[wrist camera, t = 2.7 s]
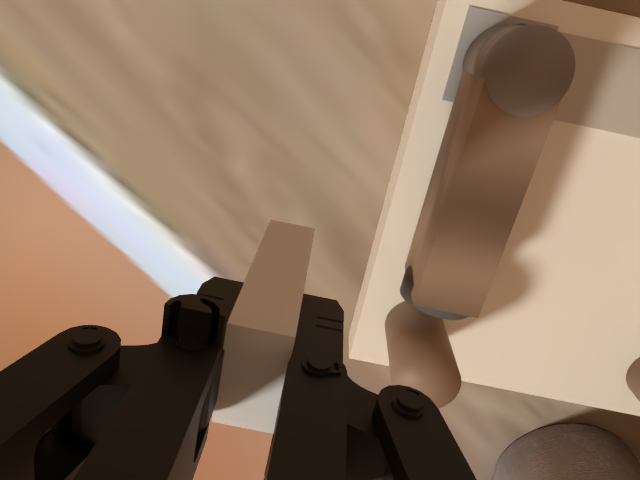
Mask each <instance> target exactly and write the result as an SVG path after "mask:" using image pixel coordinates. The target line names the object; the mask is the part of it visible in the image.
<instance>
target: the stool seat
mask: <svg viewBox="0 0 640 480" xmlns="http://www.w3.org/2000/svg"><path fill="white" fill-rule="evenodd" d="M501 25H521V26H547V27H550V28H553V29H555V30H557V31H558V32H560V33H561V34H562V35H563V36H564V37H566V39H567V40H568V41H569V43H570V45H571V47H572V49H573V52H574V56H575V73H574V77H573V80H572V83H571V85H570V87H569V89H568V91H567V92H566V94H565V95H564V96H563V98H562V99H561V102H560V104H559V107H558V109H557V112H556V115H555V117H554V120H553V123H552V125H551V128H550V130H549V133H548V136H547V138H546V141H545V144H544V146H543V149H542V152H541V154H540V157H539V159H538V162H537V165H536V167H535V170H534V173H533V175H532V178H531V180H530V183H529V186H528V188H527V191H526V194H525V196H524V199H523V202H522V204H521V207H520V209H519V212H518V215H517V217H516V220H515V223H514V225H513V228H512V231H511V233H510V236H509V238H508V241H507V244H506V246H505V249H504V252H503V254H502V257H501V259H500V262H499V265H498V267H497V270H496V273H495V275H494V278H493V281H492V283H491V286H490V288H489V291H488V294H487V296H486V299H485V302H484V304H483V307H482V309H481V312H480V315H479V317H478V318H474V317H467V318H465V319H461V320H447V319H441V318H437V317H434V316H431V315H428V314H425V313H423V312H421V311H419V310H417V309H415V308H414V307H412V306H411V305H410V304H408V303H407V302H406V301H405V300H404V299H403V297H402V296H401V294H400V287H401V284H402V280H403V277H404V274H405V263H406V260H407V256H408V253H409V250H410V246H411V243H412V240H413V236H414V233H415V230H416V226H417V223H418V220H419V216H420V213H421V210H422V206H423V203H424V199H425V196H426V193H427V189H428V186H429V183H430V179H431V176H432V173H433V169H434V166H435V163H436V159H437V156H438V153H439V149H440V146H441V143H442V139H443V136H444V133H445V129H446V126H447V122H448V119H449V116H450V112H451V109H452V106H453V102H454V99H455V96H456V92H457V89H458V86H459V82H460V79H461V76H462V72H463V60H464V56H465V53H466V51H467V49H468V47H469V46H470V44H471V43H472V41H473V40H474V39H475V38H476V37H477V36H478V35H479V34H481V33H482V32H484V31H485V30H487V29H490V28H492V27H495V26H501ZM349 358H351V359H356V360H361V361H366V362H371V363H376V364H381V365H386V366H390V375H391V383H392V385H402V386H408V387H411V388H414V389H416V390H418V391H421V392H422V393H424V394H425V395H426V396H428V397H429V398H430V399H431V400H432V401H433V402H434V404H435V405H436V406H437V408H441V407H443V406H445V405H447V404H448V403H450V402H451V401H452V400H453V399H454V398H455V397H456V396H457V394H458V392H459V390H460V387H461V381H466V382H471V383H476V384H481V385H486V386H491V387H496V388H501V389H506V390H511V391H516V392H521V393H526V394H531V395H536V396H541V397H546V398H551V399H556V400H561V401H566V402H571V403H576V404H581V405H586V406H591V407H596V408H601V409H606V410H611V411H616V412H621V413H626V414H631V415H636V416H640V18H639V17H634V16H630V15H626V14H621V13H617V12H612V11H608V10H603V9H599V8H594V7H590V6H586V5H581V4H577V3H572V2H568V1H563V0H438V1H437V5H436V9H435V12H434V16H433V20H432V24H431V27H430V31H429V35H428V39H427V42H426V46H425V50H424V54H423V58H422V61H421V65H420V69H419V73H418V76H417V80H416V84H415V88H414V91H413V95H412V99H411V103H410V106H409V110H408V114H407V118H406V121H405V125H404V129H403V133H402V136H401V140H400V144H399V148H398V151H397V155H396V159H395V163H394V166H393V170H392V174H391V178H390V182H389V185H388V189H387V193H386V197H385V200H384V204H383V208H382V212H381V215H380V219H379V223H378V227H377V230H376V234H375V238H374V242H373V245H372V249H371V253H370V257H369V260H368V264H367V268H366V272H365V275H364V279H363V283H362V287H361V290H360V294H359V298H358V302H357V305H356V309H355V313H354V317H353V321H352V324H351V328H350V332H349Z"/></svg>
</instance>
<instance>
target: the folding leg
mask: <svg viewBox="0 0 640 480" xmlns="http://www.w3.org/2000/svg"><path fill="white" fill-rule="evenodd" d="M574 73H575V56H574V52H573V49H572V47H571V45H570V43H569V41H568V40H567V39H566V37H564V36H563V35H562V34H561V33H560V32H558V31H557V30H555V29H553V28H550V27H547V26H521V25H501V26H495V27H492V28H490V29H487V30H485V31H484V32H482V33H481V34H479V35H478V36H477V37H476V38H475V39H474V40H473V41H472V43H471V44H470V46H469V47H468V49H467V51H466V53H465V56H464V60H463V72H462V76H461V79H460V82H459V86H458V89H457V92H456V96H455V99H454V102H453V106H452V109H451V112H450V116H449V119H448V122H447V126H446V129H445V133H444V136H443V139H442V143H441V146H440V149H439V153H438V156H437V159H436V163H435V166H434V169H433V173H432V176H431V179H430V183H429V186H428V189H427V193H426V196H425V199H424V203H423V206H422V210H421V213H420V216H419V220H418V223H417V226H416V230H415V233H414V236H413V240H412V243H411V246H410V250H409V253H408V256H407V260H406V263H405V274H404V277H403V280H402V284H401V287H400V294H401V296H402V297H403V299H404V300H405V301H406V302H407V303H408V304H410V305H411V306H412V307H414V308H415V309H417V310H419V311H421V312H423V313H425V314H428V315H431V316H434V317H437V318H441V319H447V320H461V319H465V318H467V317H474V318H478V317H479V315H480V312H481V309H482V307H483V304H484V302H485V299H486V296H487V294H488V291H489V288H490V286H491V283H492V281H493V278H494V275H495V273H496V270H497V267H498V265H499V262H500V259H501V257H502V254H503V252H504V249H505V246H506V244H507V241H508V238H509V236H510V233H511V231H512V228H513V225H514V223H515V220H516V217H517V215H518V212H519V209H520V207H521V204H522V202H523V199H524V196H525V194H526V191H527V188H528V186H529V183H530V180H531V178H532V175H533V173H534V170H535V167H536V165H537V162H538V159H539V157H540V154H541V152H542V149H543V146H544V144H545V141H546V138H547V136H548V133H549V130H550V128H551V125H552V123H553V120H554V117H555V115H556V112H557V109H558V107H559V104H560V102H561V99H562V98H563V96H564V95H565V94H566V92H567V91H568V89H569V87H570V85H571V83H572V80H573V77H574Z"/></svg>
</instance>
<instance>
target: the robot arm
mask: <svg viewBox="0 0 640 480" xmlns="http://www.w3.org/2000/svg"><path fill="white" fill-rule="evenodd" d="M314 230H315V229H313V228H309V227H304V226H299V225H294V224H290V223H285V222H280V221H275V220H270V222H269V225H268V227H267V229H266V232H265V234H264V237H263V239H262V241H261V244H260V246H259V248H258V251H257V253H256V256H255V258H254V260H253V263H252V265H251V267H250V270H249V272H248V274H247V277H246V279H245V282H244V283H243V282H238V281H233V280H228V279H223V278H218V277H213V278H211V279H210V280H208V281H206V282H204V283H203V284H202V285H201V287H200V289H199V290H198V292H197V295H195V294H188V295H179V296H177V297H174V298H171V299H170V300H168V301H167V302H166V303H165V305H164V315H163V326H162V336H161V338H160V339H159V341H158V342H157V343H154V344H149V345H139V346H120V345H121V339H120V337H119V336H118V334H117V333H116V332H114V331H112V330H111V329H109V328H106V327H102V326H97V325H82V326H77V327H73V328H70V329H67V330H65V331H63V332H61V333H59V334H57V335H56V336H55V337H53V338H51V339H50V340H48V341H47V342H45V343H44V344H42V345H40V346H39V347H37V348H36V349H34V350H33V351H31V352H30V353H28V354H27V355H25V356H23V357H22V358H20V359H19V360H17V361H16V362H14V363H13V364H11V365H9V366H8V367H6V368H5V369H3V370H2V371H0V480H193V477H194V474H195V471H196V468H197V465H198V462H199V459H200V457H201V454H202V451H203V448H204V445H205V442H206V439H207V434H208V426H209V421H210V418H211V416H212V413H213V417H212V422H217V423H221V424H227V425H232V426H237V427H242V428H247V429H252V430H257V431H262V432H267V433H272V434H273V438H272V442H271V447H270V452H269V456H268V460H267V465H266V470H265V477H264V480H477V479H476V478H475V476H474V474H473V472H472V470H471V468H470V467H469V465H468V463H467V461H466V459H465V457H464V456H463V454H462V452H461V450H460V448H459V446H458V444H457V443H456V441H455V439H454V437H453V435H452V433H451V432H450V430H449V428H448V426H447V424H446V422H445V421H444V419H443V417H442V415H441V413H440V411H439V410H438V408H437V406H436V405H435V404H434V402H433V401H432V400H431V399H430V398H429V397H428V396H426V395H425V394H424V393H422V392H421V391H418V390H416V389H414V388H411V387H408V386H402V385H392V386H387V387H385V388H384V389H382V390H381V391H380V393H379V395H377V394H375V393H373V392H370V391H368V390H366V389H364V388H362V387H360V386H358V385H357V384H356V383H355V382H353V381H352V380H351V379H350V378H349V377H348V376H347V370H346V367H345V365H344V364H343V321H344V311H343V309H342V308H341V306H340V305H339V303H338V302H337V300H332V299H327V298H322V297H317V296H312V295H308V294H303V292H304V287H305V281H306V275H307V270H308V264H309V258H310V253H311V247H312V242H313V236H314Z"/></svg>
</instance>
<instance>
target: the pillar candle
mask: <svg viewBox="0 0 640 480" xmlns="http://www.w3.org/2000/svg"><path fill="white" fill-rule="evenodd" d="M493 480H640V464H639V462H638V460H637V459H636V457H635V456H634V454H633V453H632V451H631V450H630V449H629V447H628V446H627V445H626V444H625V443H624V442H623V441H622V440H621V439H620V438H618V437H617V436H615V435H614V434H611V433H610V432H608V431H607V430H604V429H602V428H599V427H596V426H591V425H587V424H576V423H569V424H558V425H552V426H548V427H544V428H540V429H537V430H535V431H532V432H530V433H528V434H526V435H524V436H523V437H521V438H520V439H518V440H516V441H515V442H513V443H512V444H511V445H510V446H509V447H508V448H507V449H506V450H505V451H504V452H503V453H502V454H501V456H500V457H499V459H498V462H497V464H496V468H495V472H494V476H493Z"/></svg>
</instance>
